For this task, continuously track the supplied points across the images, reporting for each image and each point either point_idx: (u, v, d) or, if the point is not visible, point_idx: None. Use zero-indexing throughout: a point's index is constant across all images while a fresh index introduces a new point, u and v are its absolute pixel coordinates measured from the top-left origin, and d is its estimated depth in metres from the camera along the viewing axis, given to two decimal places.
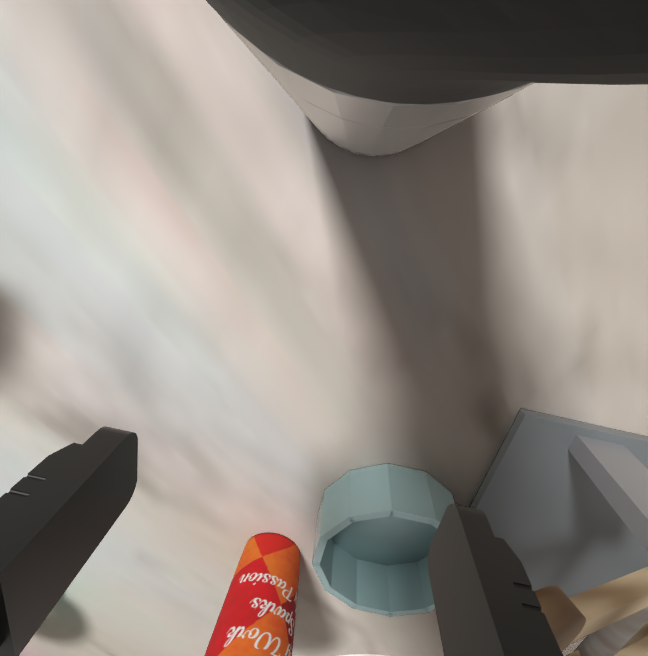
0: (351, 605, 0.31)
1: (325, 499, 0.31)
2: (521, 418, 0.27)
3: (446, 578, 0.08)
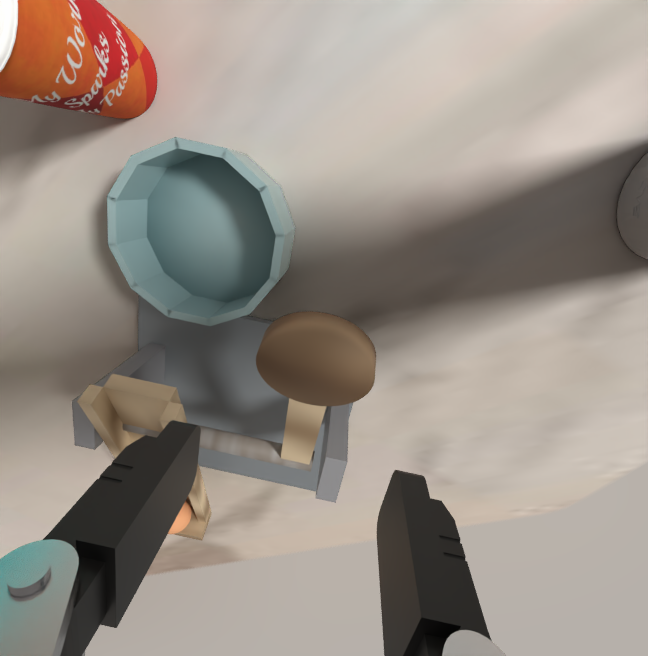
0: (112, 193, 0.24)
1: (244, 155, 0.26)
2: None
3: (387, 536, 0.09)
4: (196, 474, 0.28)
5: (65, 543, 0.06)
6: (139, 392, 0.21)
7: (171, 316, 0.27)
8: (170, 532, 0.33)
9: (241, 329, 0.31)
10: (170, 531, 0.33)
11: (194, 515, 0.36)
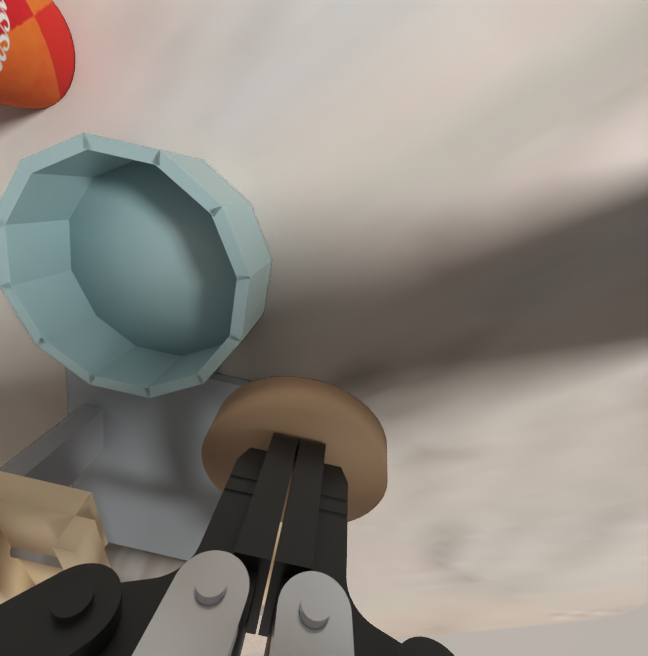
0: None
1: (197, 161, 0.18)
2: None
3: None
4: None
5: (228, 555, 0.06)
6: (32, 500, 0.14)
7: (95, 384, 0.19)
8: None
9: (201, 391, 0.23)
10: None
11: None
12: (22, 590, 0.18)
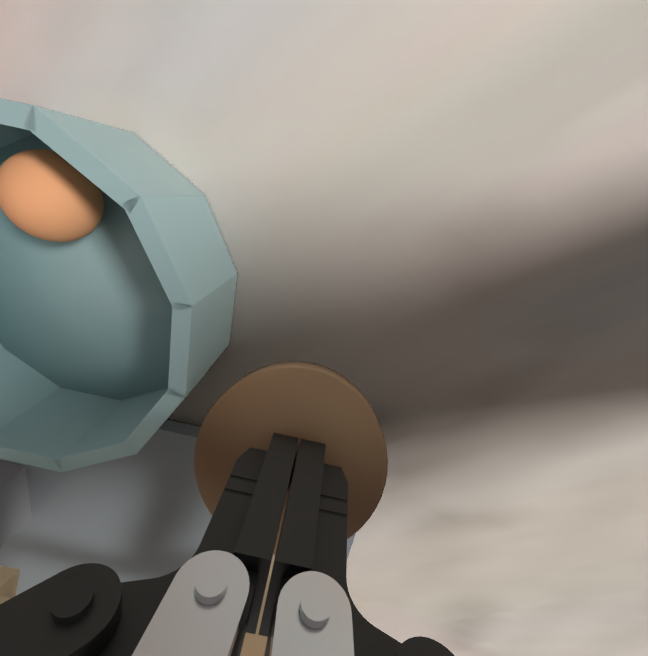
0: None
1: (120, 132, 0.12)
2: None
3: None
4: None
5: (228, 555, 0.06)
6: None
7: None
8: None
9: (150, 444, 0.18)
10: None
11: None
12: None
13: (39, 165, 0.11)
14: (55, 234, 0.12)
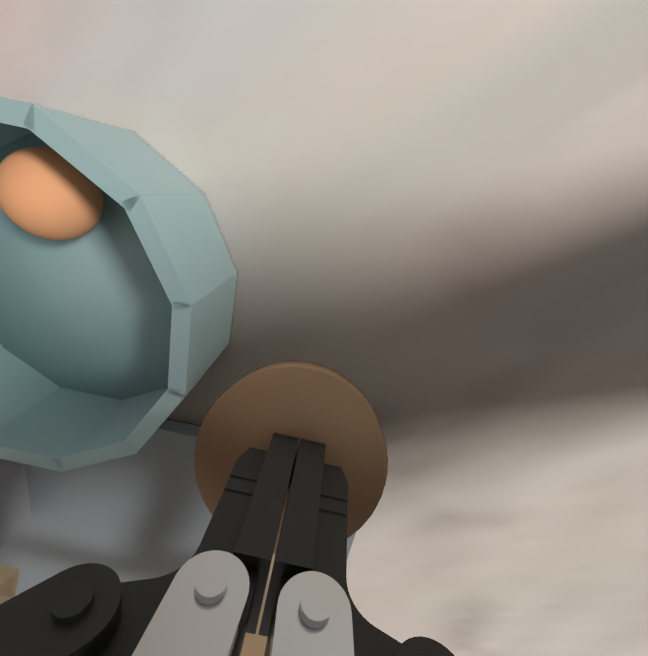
0: None
1: (120, 131, 0.12)
2: None
3: None
4: None
5: (228, 555, 0.06)
6: None
7: None
8: None
9: (150, 444, 0.18)
10: None
11: None
12: None
13: None
14: (39, 192, 0.11)
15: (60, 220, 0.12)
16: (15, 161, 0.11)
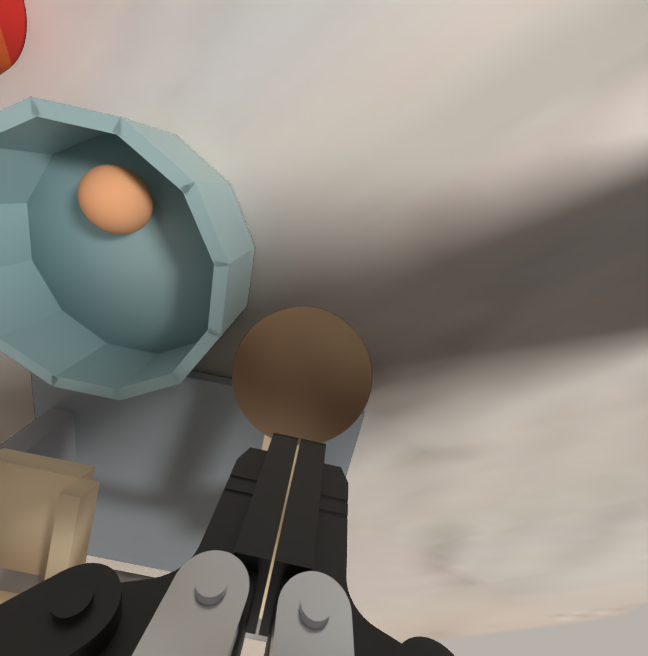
0: None
1: (169, 135, 0.16)
2: None
3: (287, 500, 0.09)
4: None
5: (228, 555, 0.06)
6: (37, 466, 0.15)
7: (58, 385, 0.17)
8: None
9: (180, 391, 0.22)
10: None
11: None
12: None
13: (123, 169, 0.16)
14: (114, 214, 0.16)
15: (130, 227, 0.16)
16: (91, 191, 0.15)
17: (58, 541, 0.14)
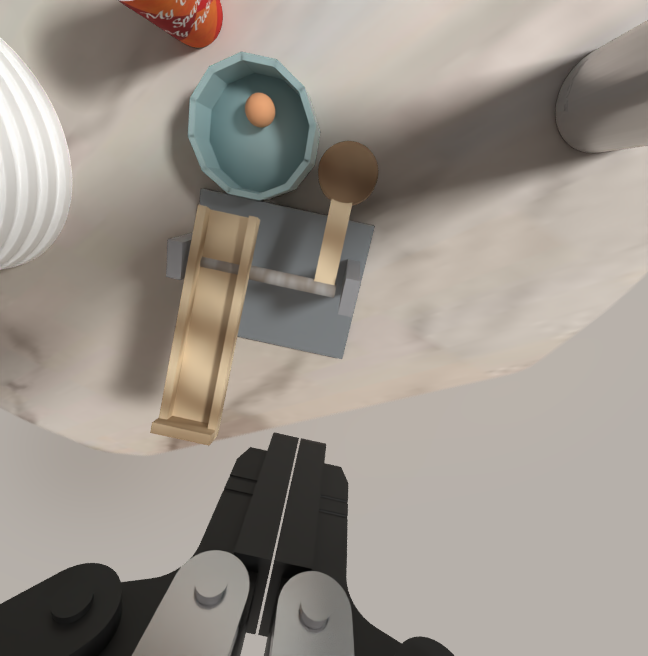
0: (193, 96, 0.34)
1: None
2: (370, 225, 0.41)
3: (287, 500, 0.09)
4: (239, 318, 0.35)
5: (228, 555, 0.06)
6: None
7: (230, 193, 0.37)
8: None
9: (278, 215, 0.41)
10: None
11: (203, 425, 0.35)
12: (193, 292, 0.34)
13: (263, 95, 0.35)
14: (262, 119, 0.36)
15: (267, 124, 0.36)
16: (253, 109, 0.35)
17: (248, 236, 0.33)
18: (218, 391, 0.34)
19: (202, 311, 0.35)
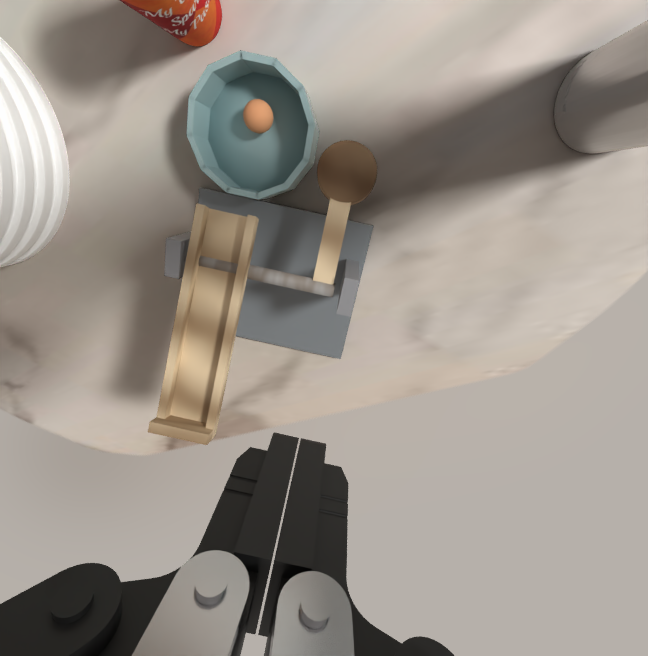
0: (192, 94, 0.34)
1: None
2: (369, 225, 0.41)
3: (287, 500, 0.09)
4: (237, 318, 0.34)
5: (227, 555, 0.06)
6: (231, 213, 0.34)
7: (229, 192, 0.37)
8: (262, 100, 0.36)
9: (276, 214, 0.41)
10: None
11: (201, 425, 0.35)
12: (191, 291, 0.34)
13: (260, 105, 0.35)
14: (261, 130, 0.36)
15: (266, 130, 0.37)
16: (251, 122, 0.36)
17: (246, 235, 0.33)
18: (216, 390, 0.34)
19: (200, 310, 0.35)
